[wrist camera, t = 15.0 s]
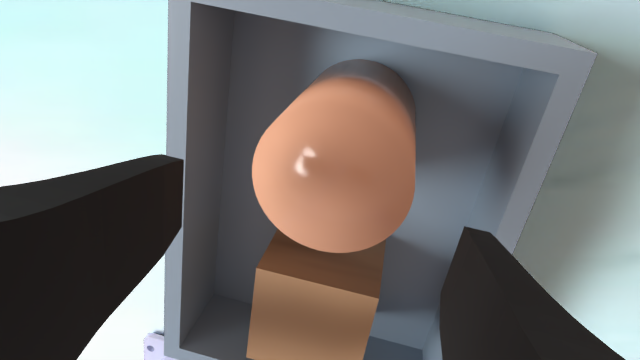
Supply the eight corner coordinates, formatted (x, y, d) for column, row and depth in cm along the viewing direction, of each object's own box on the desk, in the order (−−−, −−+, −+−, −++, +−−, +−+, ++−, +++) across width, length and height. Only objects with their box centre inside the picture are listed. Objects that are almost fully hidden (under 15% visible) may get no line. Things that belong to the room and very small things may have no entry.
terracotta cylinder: (402, 179, 21) (395, 268, 15) (296, 157, 21) (246, 233, 15) (428, 70, 19) (433, 120, 12) (310, 49, 19) (258, 86, 13)
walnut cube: (366, 310, 24) (355, 387, 20) (277, 288, 25) (246, 357, 20) (386, 232, 22) (379, 298, 18) (287, 209, 23) (256, 267, 18)
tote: (432, 353, 26) (435, 433, 21) (205, 292, 27) (163, 355, 23) (552, 33, 18) (597, 53, 13) (226, -29, 19) (169, -29, 15)
